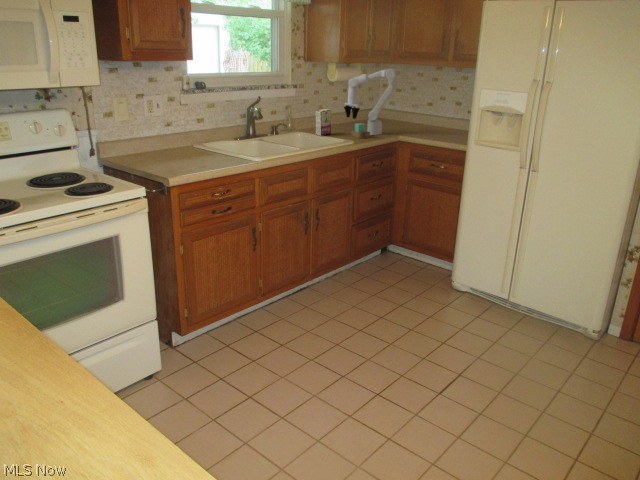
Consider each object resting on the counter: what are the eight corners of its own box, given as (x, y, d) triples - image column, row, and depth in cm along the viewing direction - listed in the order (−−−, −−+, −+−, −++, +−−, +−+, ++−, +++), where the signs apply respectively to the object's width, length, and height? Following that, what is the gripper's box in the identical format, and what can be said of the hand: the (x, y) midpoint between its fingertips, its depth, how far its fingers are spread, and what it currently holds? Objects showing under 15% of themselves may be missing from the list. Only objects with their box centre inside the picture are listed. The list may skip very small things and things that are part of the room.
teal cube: (361, 130, 351) (361, 123, 349) (365, 131, 346) (365, 124, 345) (354, 131, 348) (354, 123, 347) (358, 132, 344) (358, 124, 342)
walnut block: (361, 136, 355) (361, 130, 354) (369, 138, 348) (370, 131, 347) (350, 137, 350) (350, 131, 349) (359, 139, 343) (359, 133, 342)
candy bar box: (325, 133, 362) (325, 108, 356) (331, 134, 359) (331, 109, 353) (315, 135, 354) (315, 110, 348) (321, 136, 351) (321, 110, 345)
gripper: (341, 96, 358) (340, 116, 363) (353, 98, 347) (352, 119, 351) (350, 95, 362) (349, 116, 366) (362, 98, 350) (361, 119, 355)
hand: (351, 117), depth 359 cm, fingers open, 7 cm apart
